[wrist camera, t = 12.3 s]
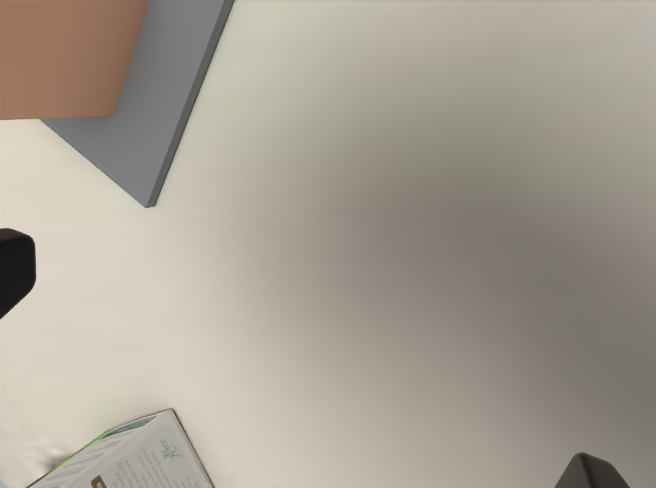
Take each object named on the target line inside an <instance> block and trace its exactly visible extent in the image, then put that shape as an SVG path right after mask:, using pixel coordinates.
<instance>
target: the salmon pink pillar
mask: <svg viewBox="0 0 656 488" xmlns="http://www.w3.org/2000/svg"><path fill="white" fill-rule="evenodd" d="M148 3H149V0H0V120H14V119H43V118H73V117H102V116H114V112H115V109H116V106H117V103H118V100H119V96H120V93H121V90H122V87H123V83H124V80H125V77H126V74H127V71H128V67H129V64H130V61H131V58H132V55H133V51H134V48H135V45H136V42H137V38H138V35H139V32H140V29H141V26H142V22H143V19H144V16H145V13H146V9H147V6H148Z"/></svg>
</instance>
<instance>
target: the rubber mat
mask: <svg viewBox="0 0 656 488" xmlns="http://www.w3.org/2000/svg"><path fill="white" fill-rule="evenodd" d="M233 1H234V0H149V3H148V6H147V9H146V13H145V16H144V19H143V22H142V26H141V29H140V32H139V35H138V38H137V42H136V45H135V48H134V51H133V55H132V58H131V61H130V64H129V67H128V71H127V74H126V77H125V80H124V83H123V87H122V90H121V93H120V96H119V100H118V103H117V106H116V109H115V112H114V116H102V117H73V118H43V119H40V120H41V121H42V122H43V123H45V124H46V125H47V126H48V127H49V128H51V129H52V130H53V131H54V132H55V133H57V134H58V135H59V136H60V137H61V138H63V139H64V140H65V141H66V142H67V143H68V144H70V145H71V146H72V147H73V148H74V149H76V150H77V151H78V152H79V153H80V154H82V155H83V156H84V157H85V158H86V159H88V160H89V161H90V162H91V163H92V164H94V165H95V166H96V167H97V168H98V169H100V170H101V171H102V172H103V173H104V174H105V175H107V176H108V177H109V178H110V179H111V180H113V181H114V182H115V183H116V184H117V185H119V186H120V187H121V188H122V189H123V190H125V191H126V192H127V193H128V194H129V195H131V196H132V197H133V198H134V199H135V200H137V201H138V202H139V203H140V204H141V205H143V206H144V207H145V208H149V207H153V206H154V205H155V202H156V200H157V197H158V195H159V192H160V189H161V187H162V184H163V182H164V179H165V177H166V174H167V171H168V169H169V166H170V164H171V161H172V158H173V156H174V153H175V151H176V148H177V145H178V143H179V140H180V138H181V135H182V133H183V130H184V127H185V125H186V122H187V120H188V117H189V114H190V112H191V109H192V107H193V104H194V101H195V99H196V96H197V94H198V91H199V89H200V86H201V83H202V81H203V78H204V76H205V73H206V70H207V68H208V65H209V63H210V60H211V57H212V55H213V52H214V50H215V47H216V45H217V42H218V39H219V37H220V34H221V32H222V29H223V26H224V24H225V21H226V19H227V16H228V13H229V11H230V8H231V6H232V3H233Z"/></svg>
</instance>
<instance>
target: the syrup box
mask: <svg viewBox="0 0 656 488" xmlns="http://www.w3.org/2000/svg"><path fill="white" fill-rule="evenodd" d="M26 488H213V487H212V485H211V482H210V480H209V478H208V476H207V474H206V472H205V470H204V468H203V466H202V464H201V462H200V460H199V458H198V456H197V454H196V453H195V451H194V449H193V447H192V445H191V443H190V441H189V440H188V438H187V436H186V434H185V432H184V430H183V428H182V426H181V425H180V423H179V421H178V419H177V418H176V416H175V414H174V412H173V410H172V409H169V410H166V411H163V412H160V413H156V414H153V415H150V416H146V417H143V418H140V419H137V420H135V421H132V422H129V423H126V424H123V425H121V426H118V427H115V428H113V429H110V430H107V431H106V432H104V433H103V434H102V435H100V436H99V437H97V438H96V439H95V440H93V441H92V442H90V443H89V444H87V445H86V446H85V447H83V448H82V449H80V450H79V451H78V452H76V453H75V454H73V455H72V456H70V457H69V458H68V459H66V460H65V461H63V462H62V463H61V464H59V465H58V466H56V467H55V468H53V469H52V470H51V471H49V472H48V473H46V474H45V475H43V476H42V477H41V478H39V479H38V480H36V481H35V482H33V483H32V484H31V485H29V486H28V487H26Z"/></svg>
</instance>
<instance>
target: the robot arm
mask: <svg viewBox="0 0 656 488" xmlns="http://www.w3.org/2000/svg"><path fill="white" fill-rule="evenodd" d="M35 281H36V255H35V243H34V241H33V239H32V238H31V237H30V236H29V235H26V234H24V233H21V232H19V231H16V230H13V229H9V228H3V229H0V319H1V318H3V317H4V316H5V315H6V314H7V313H8V312H9V311H10V310H11V309H12V308H13V307H14V306H15V305H17V304H18V303H19V302H20V301H21V300H22V299H23V298H24V297H25V296H26V295H27V294H28V293H29V292H30V291H31V290H32V288H33V286H34V284H35ZM555 488H630V487H629V486H628V484H627V483H626V482H625V480H624V479H623V478H622V477H621V475H620V474H619V473H618V471H617V470H616V469H615V468H614V467H613V465H612V464H610V463H609V462H607V461H604V460H602V459H599V458H597V457H594V456H592V455H589V454H586V453H583V452H581V453H577V454H576V455H575V456H574V457H573V458H572V459H571V461H570V463H569V464H568V466H567V468H566V469H565V471H564V473H563V474H562V476H561V478H560V479H559V481H558V483H557V484H556V486H555Z"/></svg>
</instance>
